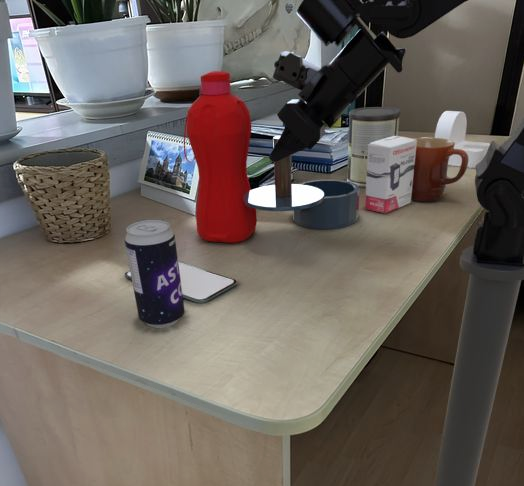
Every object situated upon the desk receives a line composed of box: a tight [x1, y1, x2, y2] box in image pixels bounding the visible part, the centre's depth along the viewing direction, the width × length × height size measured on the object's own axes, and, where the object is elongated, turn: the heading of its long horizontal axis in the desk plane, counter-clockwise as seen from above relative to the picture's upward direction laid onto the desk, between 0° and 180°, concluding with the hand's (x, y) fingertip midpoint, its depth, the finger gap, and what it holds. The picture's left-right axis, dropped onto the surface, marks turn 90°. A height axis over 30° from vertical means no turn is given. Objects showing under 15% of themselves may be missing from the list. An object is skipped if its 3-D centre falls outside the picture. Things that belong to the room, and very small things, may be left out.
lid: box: [243, 135, 324, 212], centre depth 82 cm, size 13×13×10 cm
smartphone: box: [124, 261, 238, 304], centre depth 77 cm, size 8×1×16 cm
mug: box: [411, 137, 468, 203], centre depth 102 cm, size 12×9×10 cm
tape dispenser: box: [421, 110, 491, 169], centre depth 128 cm, size 10×18×11 cm, turn 51°
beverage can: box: [124, 219, 186, 329], centre depth 65 cm, size 6×6×12 cm
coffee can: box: [346, 106, 401, 188], centre depth 114 cm, size 10×10×14 cm
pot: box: [291, 178, 361, 230], centre depth 97 cm, size 12×12×5 cm
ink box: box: [364, 135, 417, 214], centre depth 99 cm, size 8×5×12 cm, turn 134°
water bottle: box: [183, 70, 258, 244], centre depth 86 cm, size 9×11×25 cm
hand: (273, 157), depth 82 cm, fingers closed on lid, 3 cm apart
